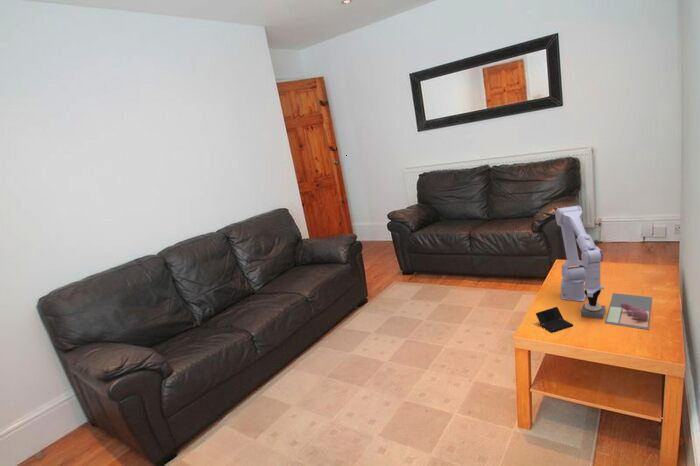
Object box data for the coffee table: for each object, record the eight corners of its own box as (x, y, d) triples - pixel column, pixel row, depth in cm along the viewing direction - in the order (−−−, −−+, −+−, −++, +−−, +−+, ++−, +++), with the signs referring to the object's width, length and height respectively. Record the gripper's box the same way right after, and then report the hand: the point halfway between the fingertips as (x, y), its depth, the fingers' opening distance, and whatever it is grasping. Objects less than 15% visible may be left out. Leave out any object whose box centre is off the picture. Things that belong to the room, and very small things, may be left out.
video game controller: (633, 321, 154) (652, 321, 153) (633, 311, 153) (652, 310, 152) (619, 312, 163) (636, 312, 162) (619, 302, 163) (637, 301, 162)
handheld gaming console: (556, 331, 156) (544, 308, 160) (543, 336, 162) (533, 313, 166) (576, 326, 160) (564, 303, 164) (563, 330, 166) (552, 308, 170)
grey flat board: (604, 323, 158) (604, 322, 158) (613, 293, 180) (613, 292, 180) (648, 329, 149) (648, 329, 149) (652, 297, 170) (652, 297, 170)
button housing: (580, 316, 166) (580, 311, 165) (584, 308, 172) (583, 303, 171) (602, 319, 161) (602, 314, 160) (605, 311, 167) (605, 305, 166)
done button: (583, 314, 166) (583, 307, 165) (586, 308, 170) (586, 301, 169) (600, 317, 162) (600, 309, 161) (602, 311, 166) (602, 303, 166)
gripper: (601, 284, 154) (601, 314, 157) (605, 270, 165) (606, 299, 168) (581, 282, 159) (581, 311, 162) (586, 269, 169) (587, 297, 172)
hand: (592, 305), depth 165 cm, fingers closed, pressing on done button
